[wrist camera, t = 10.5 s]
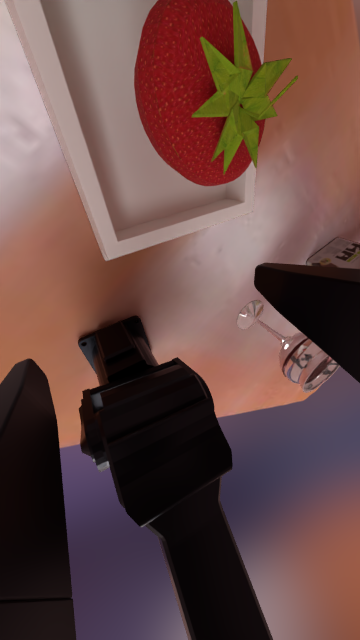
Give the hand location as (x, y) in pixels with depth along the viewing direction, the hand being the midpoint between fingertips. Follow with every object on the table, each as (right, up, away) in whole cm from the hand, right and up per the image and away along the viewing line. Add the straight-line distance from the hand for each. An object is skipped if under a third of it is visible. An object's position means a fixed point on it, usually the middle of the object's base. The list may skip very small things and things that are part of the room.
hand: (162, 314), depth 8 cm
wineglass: (+11, +1, +25) cm, 27 cm away
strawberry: (-1, +13, +7) cm, 15 cm away
